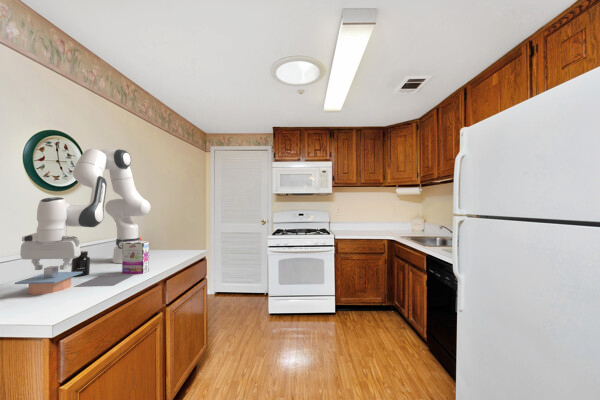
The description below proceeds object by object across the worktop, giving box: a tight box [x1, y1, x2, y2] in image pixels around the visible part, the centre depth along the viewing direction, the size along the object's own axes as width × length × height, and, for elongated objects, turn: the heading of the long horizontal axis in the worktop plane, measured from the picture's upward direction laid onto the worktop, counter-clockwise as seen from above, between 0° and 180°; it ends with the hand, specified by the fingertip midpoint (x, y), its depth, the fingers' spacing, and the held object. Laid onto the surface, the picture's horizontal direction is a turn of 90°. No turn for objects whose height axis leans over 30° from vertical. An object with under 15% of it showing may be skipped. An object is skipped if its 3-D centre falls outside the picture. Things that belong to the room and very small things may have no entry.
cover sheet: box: [14, 265, 83, 285], centre depth 101 cm, size 14×14×5 cm
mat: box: [73, 274, 135, 288], centre depth 113 cm, size 16×16×1 cm
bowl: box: [27, 277, 72, 296], centre depth 101 cm, size 12×12×5 cm
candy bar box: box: [121, 240, 150, 275], centre depth 127 cm, size 11×5×16 cm, turn 88°
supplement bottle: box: [70, 250, 91, 278], centre depth 121 cm, size 7×7×12 cm
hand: (51, 269), depth 102 cm, fingers open, 8 cm apart
